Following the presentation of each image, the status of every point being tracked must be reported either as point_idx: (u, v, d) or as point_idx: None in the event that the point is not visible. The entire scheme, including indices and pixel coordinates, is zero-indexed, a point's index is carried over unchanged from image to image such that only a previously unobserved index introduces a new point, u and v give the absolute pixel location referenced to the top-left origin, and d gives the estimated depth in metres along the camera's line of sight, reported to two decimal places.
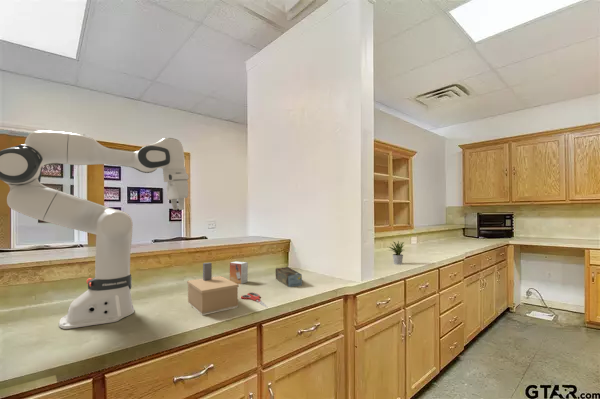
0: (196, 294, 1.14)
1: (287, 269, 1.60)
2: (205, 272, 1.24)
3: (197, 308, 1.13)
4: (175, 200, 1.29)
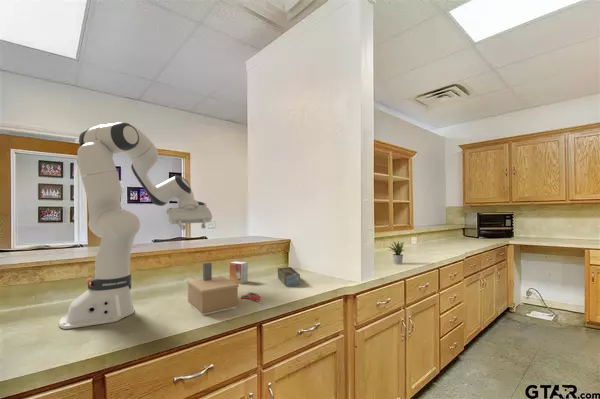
0: (196, 294, 1.14)
1: (288, 269, 1.60)
2: (205, 272, 1.24)
3: (197, 308, 1.13)
4: None
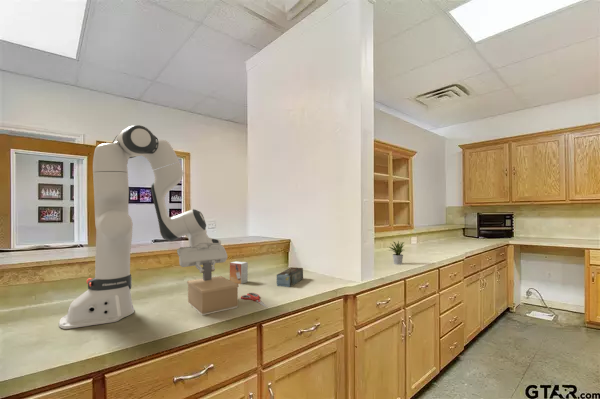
0: (196, 294, 1.14)
1: (293, 269, 1.59)
2: (205, 272, 1.24)
3: (197, 308, 1.13)
4: None
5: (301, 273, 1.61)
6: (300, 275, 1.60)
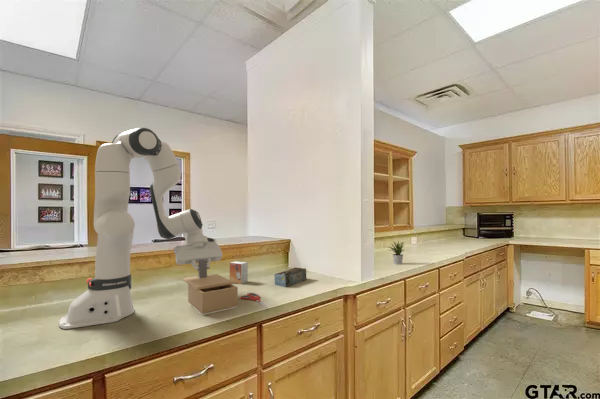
0: (196, 294, 1.14)
1: (295, 269, 1.59)
2: (200, 270, 1.28)
3: (197, 308, 1.13)
4: None
5: (303, 274, 1.60)
6: (302, 275, 1.58)
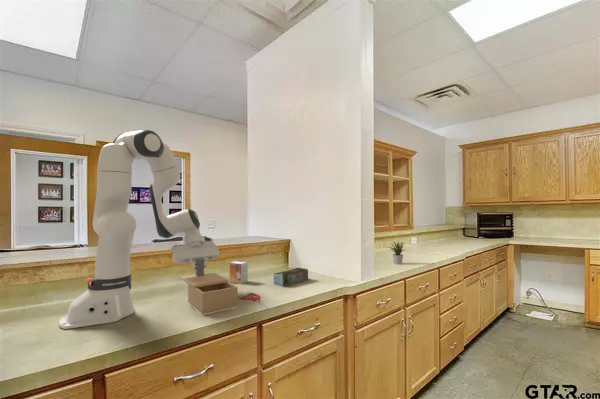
0: (196, 294, 1.14)
1: (296, 270, 1.58)
2: (198, 268, 1.32)
3: (197, 308, 1.13)
4: None
5: (304, 274, 1.58)
6: (303, 276, 1.57)
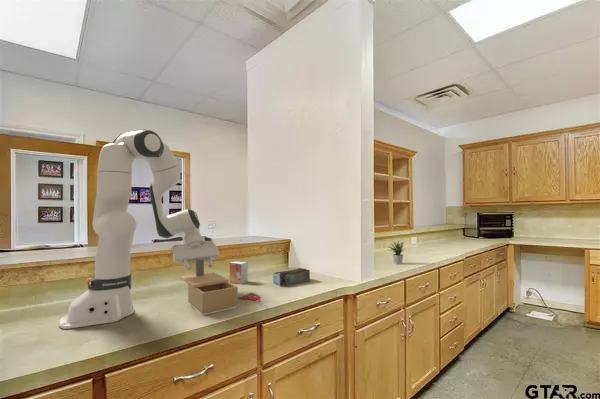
0: (196, 294, 1.14)
1: (296, 270, 1.57)
2: (198, 268, 1.32)
3: (197, 308, 1.13)
4: None
5: (305, 275, 1.57)
6: (303, 276, 1.56)
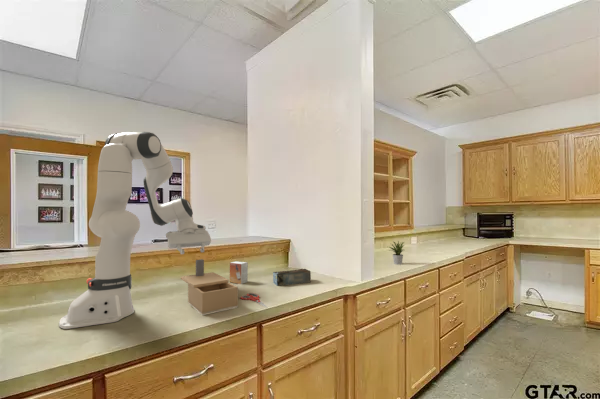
0: (196, 294, 1.14)
1: (297, 270, 1.56)
2: (198, 268, 1.32)
3: (197, 308, 1.13)
4: None
5: (305, 276, 1.55)
6: (303, 277, 1.54)
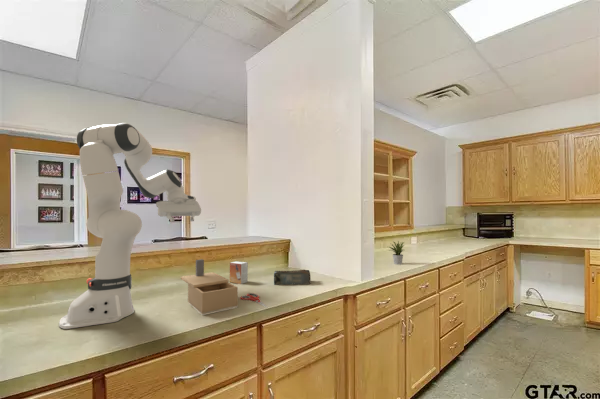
0: (196, 294, 1.14)
1: (297, 271, 1.55)
2: (198, 268, 1.32)
3: (197, 308, 1.13)
4: None
5: (304, 277, 1.52)
6: (301, 278, 1.52)
